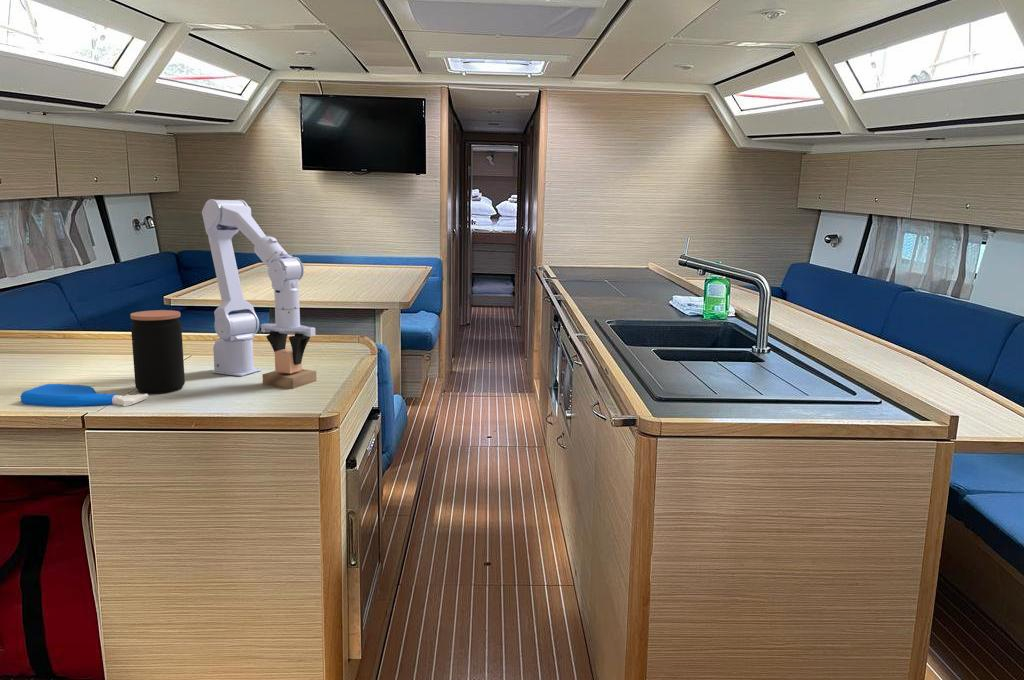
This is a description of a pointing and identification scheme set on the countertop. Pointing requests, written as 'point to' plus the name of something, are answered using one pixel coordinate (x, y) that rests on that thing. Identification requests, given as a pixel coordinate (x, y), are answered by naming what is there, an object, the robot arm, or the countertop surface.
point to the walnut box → (289, 378)
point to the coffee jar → (157, 351)
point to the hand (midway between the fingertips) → (289, 363)
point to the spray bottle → (75, 396)
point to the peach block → (285, 362)
